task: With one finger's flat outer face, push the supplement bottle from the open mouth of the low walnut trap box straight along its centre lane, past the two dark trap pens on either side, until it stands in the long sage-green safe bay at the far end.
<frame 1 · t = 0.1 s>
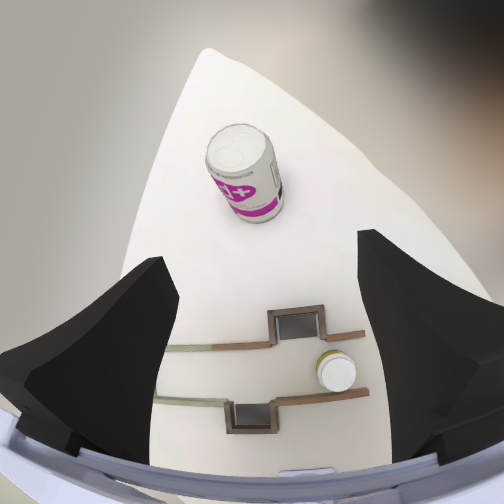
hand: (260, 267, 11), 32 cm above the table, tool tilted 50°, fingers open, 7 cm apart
supplement bottle: (333, 366, 38), on the table
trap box: (286, 371, 39), on the table
supplement can: (258, 200, 47), on the table
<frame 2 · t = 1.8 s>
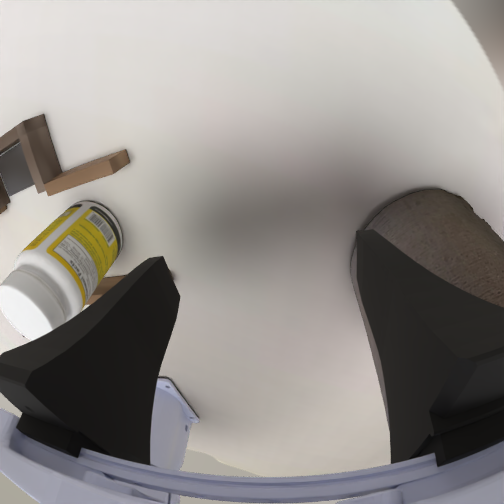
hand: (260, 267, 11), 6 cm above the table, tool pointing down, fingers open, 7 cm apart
supplement bottle: (95, 230, 18), on the table
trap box: (37, 245, 19), on the table
pillar candle: (416, 256, 17), on the table
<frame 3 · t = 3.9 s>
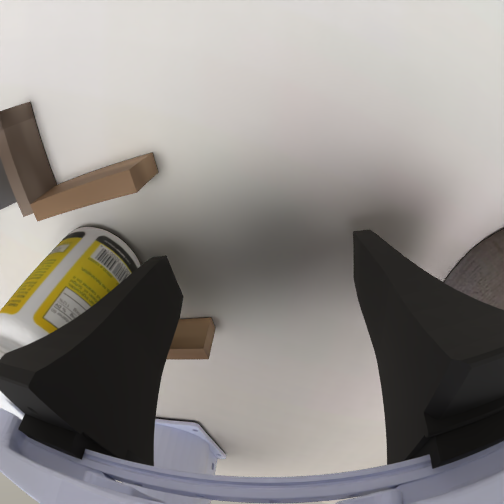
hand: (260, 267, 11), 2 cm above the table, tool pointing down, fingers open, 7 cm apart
supplement bottle: (105, 264, 13), on the table, touching gripper
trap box: (30, 276, 14), on the table
pillar candle: (491, 295, 13), on the table
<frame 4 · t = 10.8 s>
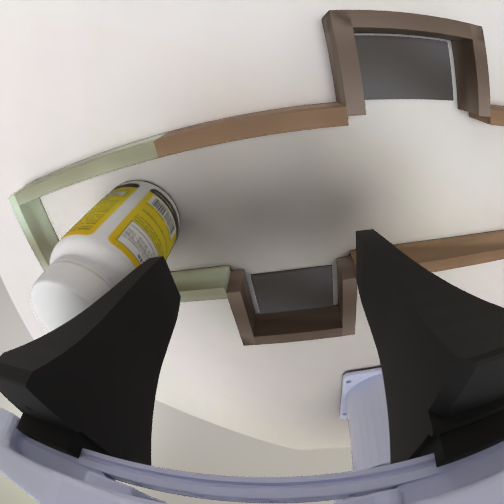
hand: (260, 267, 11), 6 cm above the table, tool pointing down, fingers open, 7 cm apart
supplement bottle: (144, 215, 17), on the table, touching gripper
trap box: (378, 186, 14), on the table
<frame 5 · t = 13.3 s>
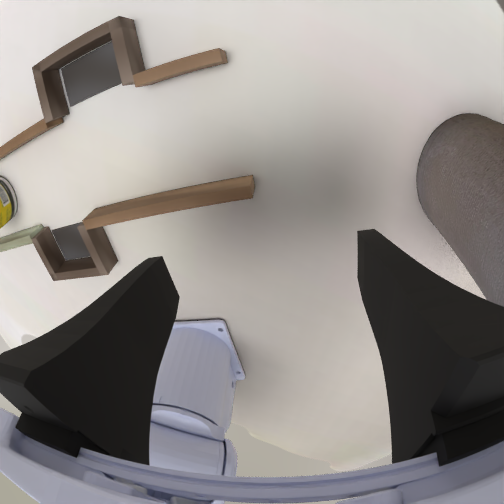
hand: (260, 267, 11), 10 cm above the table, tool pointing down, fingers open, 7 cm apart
supplement bottle: (4, 196, 21), on the table
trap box: (94, 159, 19), on the table
pillar candle: (465, 176, 17), on the table
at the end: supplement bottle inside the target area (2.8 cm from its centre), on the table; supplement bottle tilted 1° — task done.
